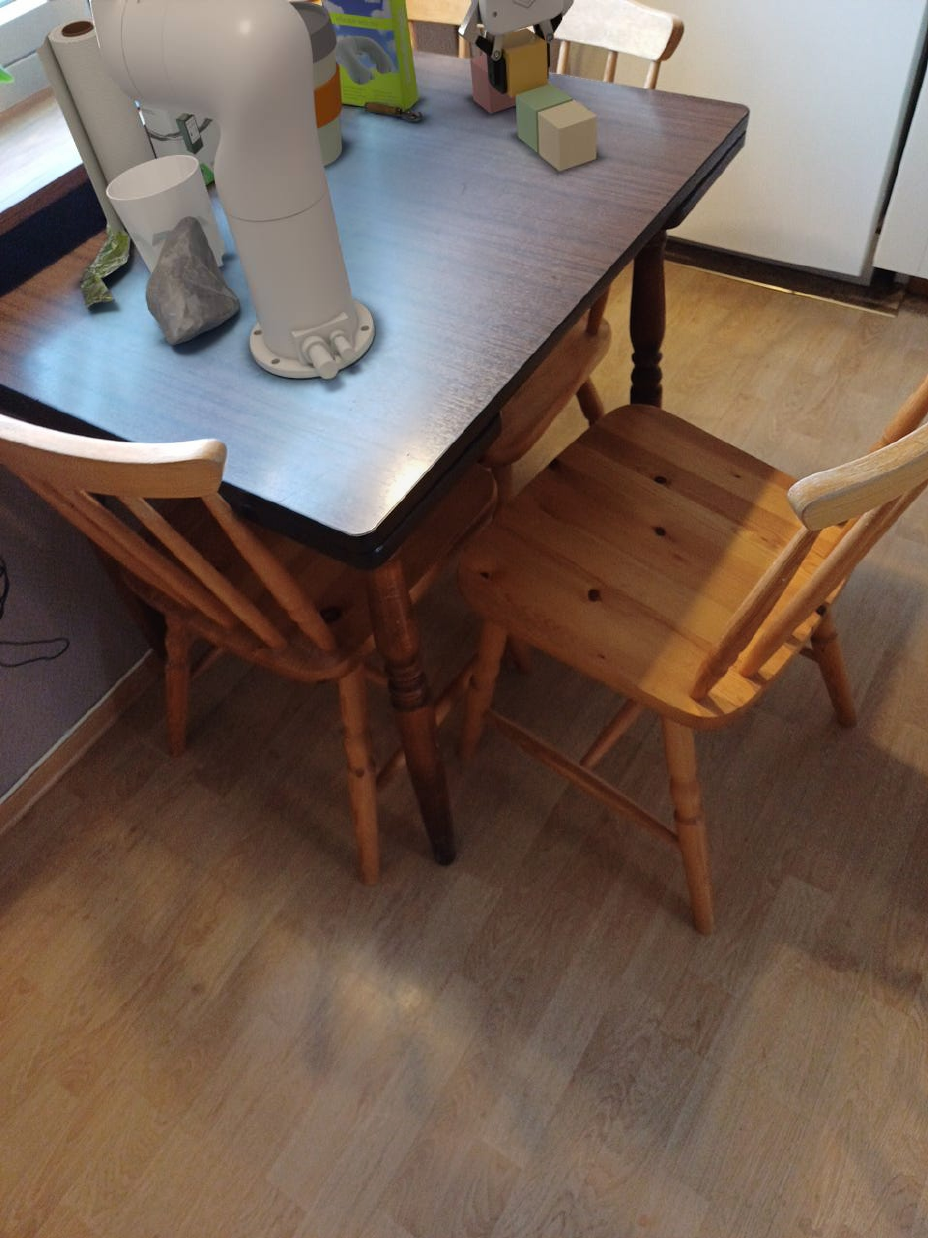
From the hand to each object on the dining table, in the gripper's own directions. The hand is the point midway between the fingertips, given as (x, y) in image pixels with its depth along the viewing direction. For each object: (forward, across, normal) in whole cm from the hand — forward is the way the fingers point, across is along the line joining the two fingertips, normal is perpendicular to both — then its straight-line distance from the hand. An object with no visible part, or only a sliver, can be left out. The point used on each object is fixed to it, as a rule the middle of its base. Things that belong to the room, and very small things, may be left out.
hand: (519, 80), depth 116 cm
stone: (+4, -44, -18) cm, 48 cm away
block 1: (+5, 0, +6) cm, 8 cm away
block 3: (+5, 0, -12) cm, 13 cm away
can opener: (+5, -13, +11) cm, 18 cm away
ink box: (+5, -39, +12) cm, 41 cm away
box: (+5, -13, +16) cm, 21 cm away
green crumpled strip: (+2, -52, 0) cm, 53 cm away
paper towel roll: (+4, -48, +4) cm, 49 cm away
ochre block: (0, 0, 0) cm, 0 cm away
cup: (+4, -46, -8) cm, 47 cm away
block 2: (+5, 0, -6) cm, 8 cm away
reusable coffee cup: (+5, -26, +9) cm, 28 cm away
